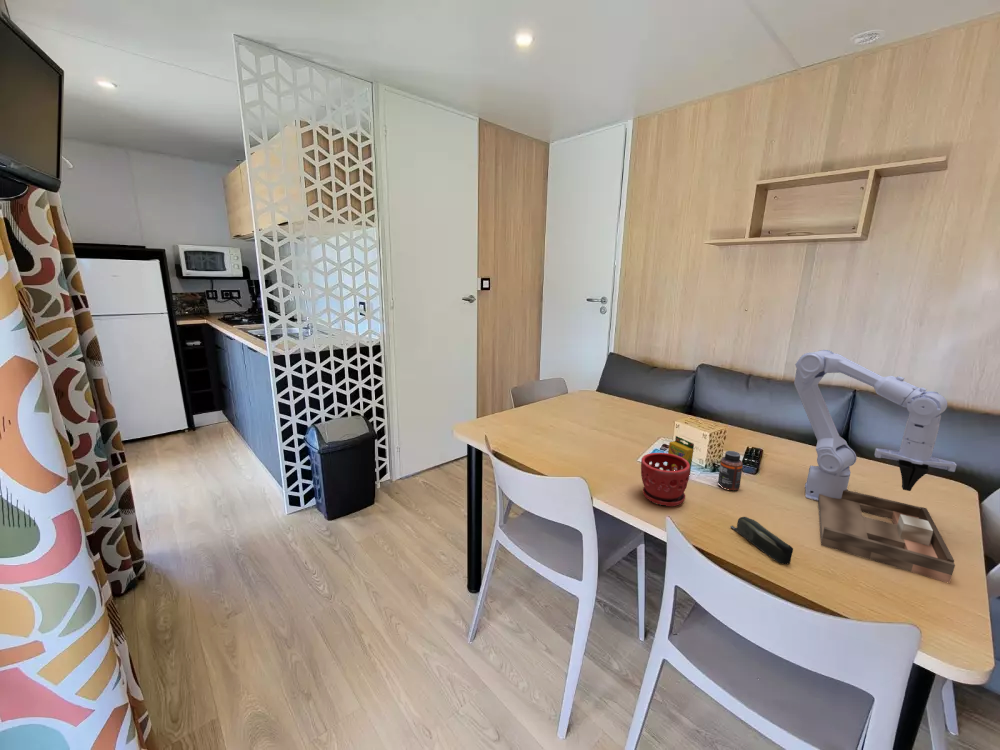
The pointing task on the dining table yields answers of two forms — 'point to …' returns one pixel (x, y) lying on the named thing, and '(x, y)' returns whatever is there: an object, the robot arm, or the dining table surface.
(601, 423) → the dining table surface
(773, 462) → the dining table surface
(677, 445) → the crayon box
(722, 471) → the supplement bottle
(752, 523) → the mobile phone
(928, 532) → the block
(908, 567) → the frame
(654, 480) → the plant pot
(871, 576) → the dining table surface
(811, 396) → the robot arm
